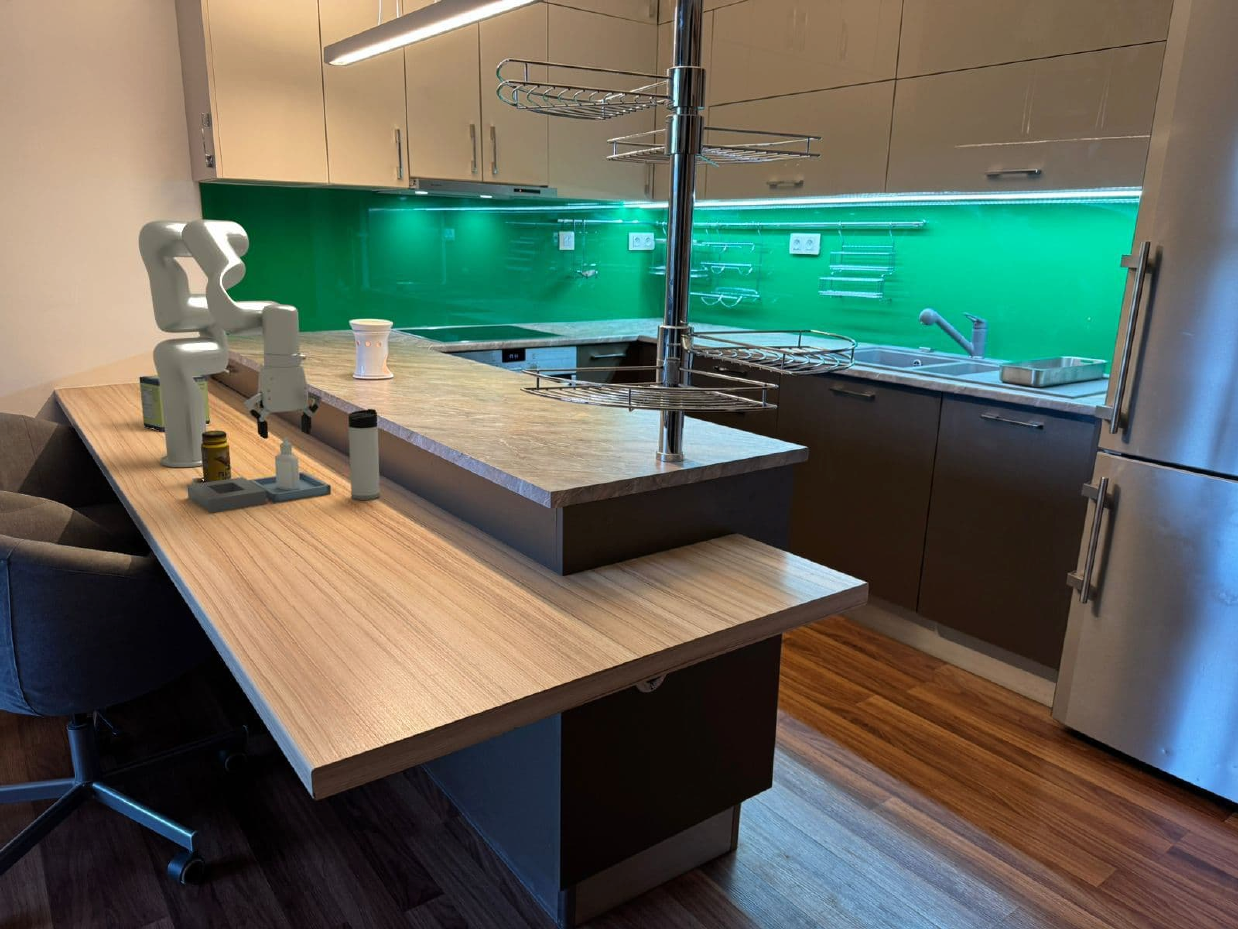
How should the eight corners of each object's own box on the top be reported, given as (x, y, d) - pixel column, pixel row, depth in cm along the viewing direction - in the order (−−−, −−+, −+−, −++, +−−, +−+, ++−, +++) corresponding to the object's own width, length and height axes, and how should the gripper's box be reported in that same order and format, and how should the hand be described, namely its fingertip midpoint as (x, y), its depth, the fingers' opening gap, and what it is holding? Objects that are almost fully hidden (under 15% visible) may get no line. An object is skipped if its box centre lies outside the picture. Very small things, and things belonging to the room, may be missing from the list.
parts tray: (249, 488, 198) (248, 479, 197) (303, 479, 206) (303, 471, 206) (274, 503, 187) (274, 494, 187) (330, 493, 196) (330, 485, 195)
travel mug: (386, 495, 197) (384, 410, 192) (367, 502, 191) (364, 414, 186) (365, 491, 199) (362, 407, 194) (345, 497, 193) (342, 411, 188)
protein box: (211, 425, 262) (207, 375, 259) (162, 432, 250) (157, 380, 246) (191, 420, 268) (187, 371, 264) (142, 427, 255) (137, 376, 251)
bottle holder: (188, 498, 188) (186, 485, 188) (243, 489, 196) (242, 477, 196) (209, 513, 178) (208, 499, 178) (266, 503, 186) (266, 490, 186)
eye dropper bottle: (281, 492, 193) (278, 441, 190) (275, 486, 198) (272, 436, 195) (301, 490, 196) (298, 439, 193) (294, 484, 200) (291, 434, 197)
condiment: (235, 483, 201) (232, 434, 199) (196, 487, 197) (192, 437, 194) (230, 476, 207) (226, 428, 204) (191, 479, 203) (187, 430, 200)
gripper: (312, 356, 198) (314, 428, 202) (236, 360, 186) (240, 436, 191) (326, 361, 193) (328, 434, 197) (248, 365, 181) (252, 443, 185)
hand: (285, 435), depth 194 cm, fingers open, 9 cm apart
